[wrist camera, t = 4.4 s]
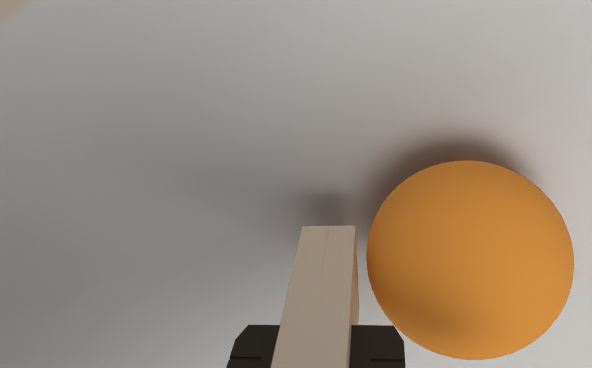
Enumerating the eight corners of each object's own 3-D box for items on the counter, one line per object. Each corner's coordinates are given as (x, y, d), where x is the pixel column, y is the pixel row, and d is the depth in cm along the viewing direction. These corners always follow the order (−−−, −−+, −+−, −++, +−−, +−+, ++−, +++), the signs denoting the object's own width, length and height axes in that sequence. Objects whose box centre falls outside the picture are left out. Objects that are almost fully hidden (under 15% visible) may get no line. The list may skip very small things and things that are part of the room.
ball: (382, 412, 14) (596, 398, 14) (377, 235, 12) (637, 215, 12) (360, 283, 19) (519, 271, 19) (354, 138, 17) (535, 123, 16)
